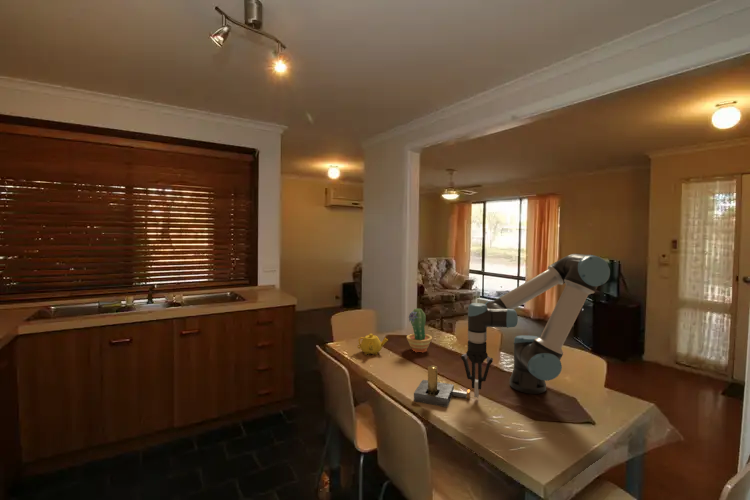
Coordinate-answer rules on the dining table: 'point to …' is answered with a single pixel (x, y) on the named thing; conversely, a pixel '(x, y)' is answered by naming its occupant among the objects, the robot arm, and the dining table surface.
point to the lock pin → (461, 393)
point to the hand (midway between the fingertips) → (476, 395)
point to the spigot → (432, 380)
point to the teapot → (371, 344)
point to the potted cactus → (418, 331)
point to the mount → (440, 399)
